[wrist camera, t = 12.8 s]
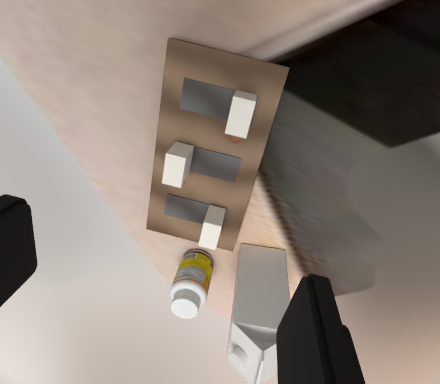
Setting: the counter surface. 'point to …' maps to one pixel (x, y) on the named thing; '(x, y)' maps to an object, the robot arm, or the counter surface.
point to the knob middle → (177, 164)
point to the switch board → (210, 137)
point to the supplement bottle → (191, 283)
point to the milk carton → (257, 311)
